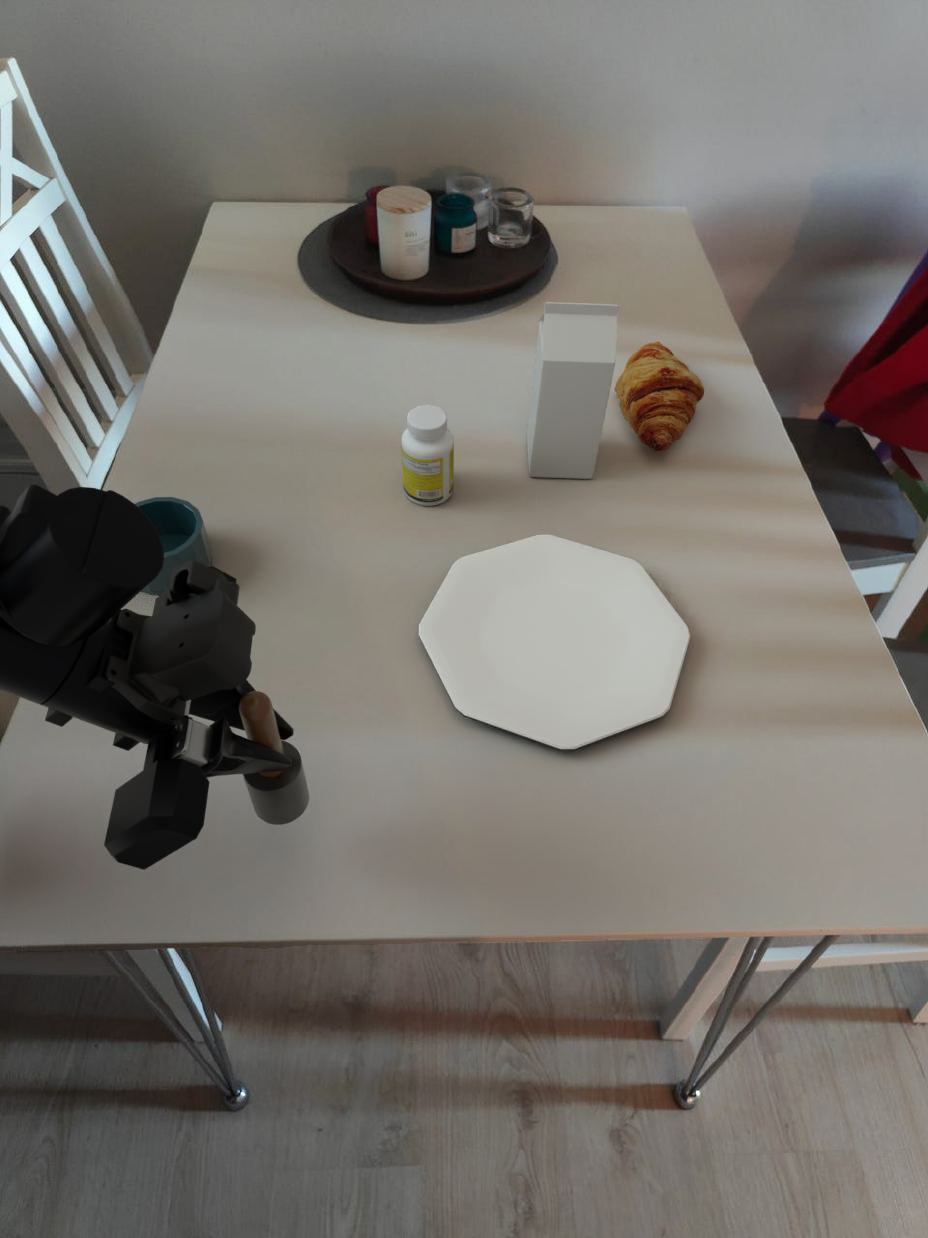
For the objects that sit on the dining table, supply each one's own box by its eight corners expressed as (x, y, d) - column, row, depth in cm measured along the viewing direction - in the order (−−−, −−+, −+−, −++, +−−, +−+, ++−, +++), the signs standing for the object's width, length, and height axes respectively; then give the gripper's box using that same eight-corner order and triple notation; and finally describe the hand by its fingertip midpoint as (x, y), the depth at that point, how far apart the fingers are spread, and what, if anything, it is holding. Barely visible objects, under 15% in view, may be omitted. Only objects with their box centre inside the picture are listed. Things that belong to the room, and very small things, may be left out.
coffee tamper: (250, 826, 60) (215, 727, 50) (255, 776, 63) (222, 672, 53) (308, 823, 60) (284, 724, 50) (310, 773, 63) (288, 670, 53)
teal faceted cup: (117, 596, 81) (101, 560, 77) (133, 534, 87) (119, 497, 83) (206, 594, 82) (195, 558, 78) (217, 532, 87) (207, 495, 83)
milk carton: (592, 480, 94) (623, 325, 80) (528, 478, 94) (547, 322, 79) (587, 439, 99) (615, 285, 84) (526, 437, 99) (543, 283, 84)
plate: (390, 587, 83) (390, 576, 82) (601, 525, 90) (604, 514, 88) (490, 787, 70) (491, 779, 68) (730, 697, 76) (735, 688, 75)
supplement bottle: (429, 467, 95) (429, 393, 87) (463, 491, 92) (466, 417, 85) (392, 489, 92) (389, 415, 85) (426, 514, 90) (426, 441, 82)
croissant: (624, 378, 112) (604, 327, 107) (700, 352, 108) (684, 298, 103) (629, 483, 98) (607, 430, 93) (717, 457, 95) (699, 400, 89)
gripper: (105, 743, 37) (371, 840, 47) (168, 463, 49) (370, 585, 58) (-11, 832, 43) (248, 903, 52) (72, 561, 55) (270, 658, 64)
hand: (288, 750), depth 56 cm, fingers closed on coffee tamper, 2 cm apart
